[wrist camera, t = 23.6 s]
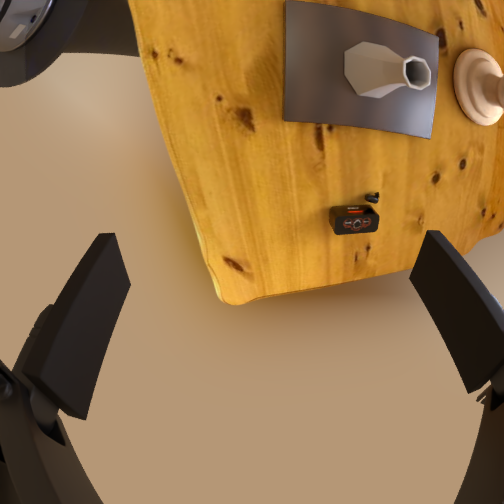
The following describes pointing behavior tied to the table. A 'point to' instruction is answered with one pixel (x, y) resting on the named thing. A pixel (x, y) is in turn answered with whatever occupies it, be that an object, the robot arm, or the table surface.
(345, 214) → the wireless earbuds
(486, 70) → the candle holder
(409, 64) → the flask
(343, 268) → the table surface
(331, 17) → the walnut board
